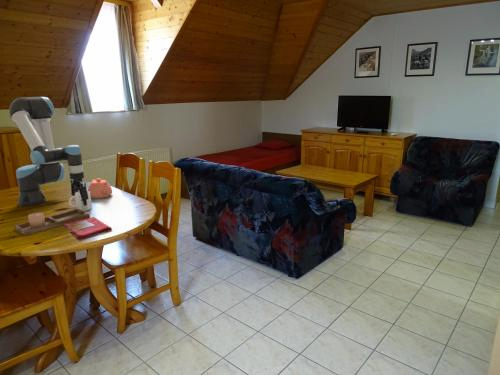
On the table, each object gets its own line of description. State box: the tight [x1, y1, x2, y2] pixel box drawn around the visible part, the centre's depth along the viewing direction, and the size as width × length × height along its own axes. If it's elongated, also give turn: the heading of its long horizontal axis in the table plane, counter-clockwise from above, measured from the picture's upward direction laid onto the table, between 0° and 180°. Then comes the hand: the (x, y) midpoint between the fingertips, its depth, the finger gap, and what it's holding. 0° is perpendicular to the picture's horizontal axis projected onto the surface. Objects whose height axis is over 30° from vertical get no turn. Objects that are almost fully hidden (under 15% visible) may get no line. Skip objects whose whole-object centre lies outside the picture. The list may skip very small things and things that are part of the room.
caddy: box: [14, 208, 91, 236], centre depth 193 cm, size 13×33×3 cm, turn 141°
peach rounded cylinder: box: [27, 211, 46, 229], centre depth 187 cm, size 7×7×7 cm
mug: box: [68, 190, 93, 211], centre depth 216 cm, size 12×8×10 cm
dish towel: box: [63, 216, 113, 240], centre depth 188 cm, size 17×24×3 cm
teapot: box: [87, 177, 113, 200], centre depth 240 cm, size 22×15×12 cm
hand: (81, 208), depth 216 cm, fingers closed on mug, 8 cm apart
